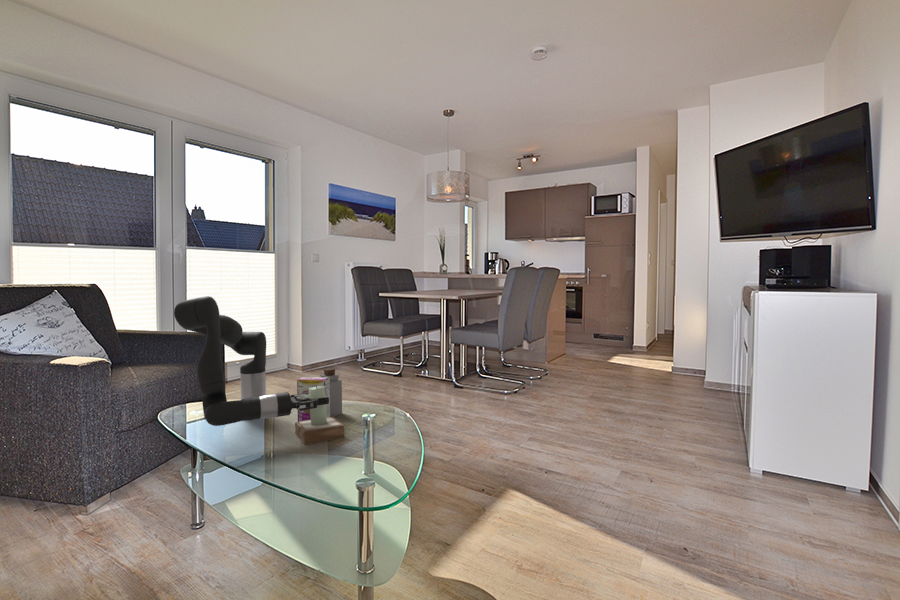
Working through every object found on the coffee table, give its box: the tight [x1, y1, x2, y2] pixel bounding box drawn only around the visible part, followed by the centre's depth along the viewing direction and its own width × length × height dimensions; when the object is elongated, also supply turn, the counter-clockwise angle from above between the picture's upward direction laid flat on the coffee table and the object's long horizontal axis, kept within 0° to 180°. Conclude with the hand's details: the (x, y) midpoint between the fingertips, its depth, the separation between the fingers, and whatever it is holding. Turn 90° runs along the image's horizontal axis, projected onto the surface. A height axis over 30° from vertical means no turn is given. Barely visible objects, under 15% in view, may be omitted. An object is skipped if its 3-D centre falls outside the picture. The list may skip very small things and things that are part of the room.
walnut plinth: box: [294, 416, 345, 446], centre depth 154 cm, size 13×13×4 cm
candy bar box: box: [296, 376, 330, 422], centre depth 171 cm, size 11×5×16 cm, turn 84°
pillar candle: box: [309, 385, 327, 425], centre depth 154 cm, size 5×5×13 cm
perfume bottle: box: [319, 367, 343, 417], centre depth 180 cm, size 7×7×18 cm
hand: (325, 398), depth 155 cm, fingers open, 6 cm apart
